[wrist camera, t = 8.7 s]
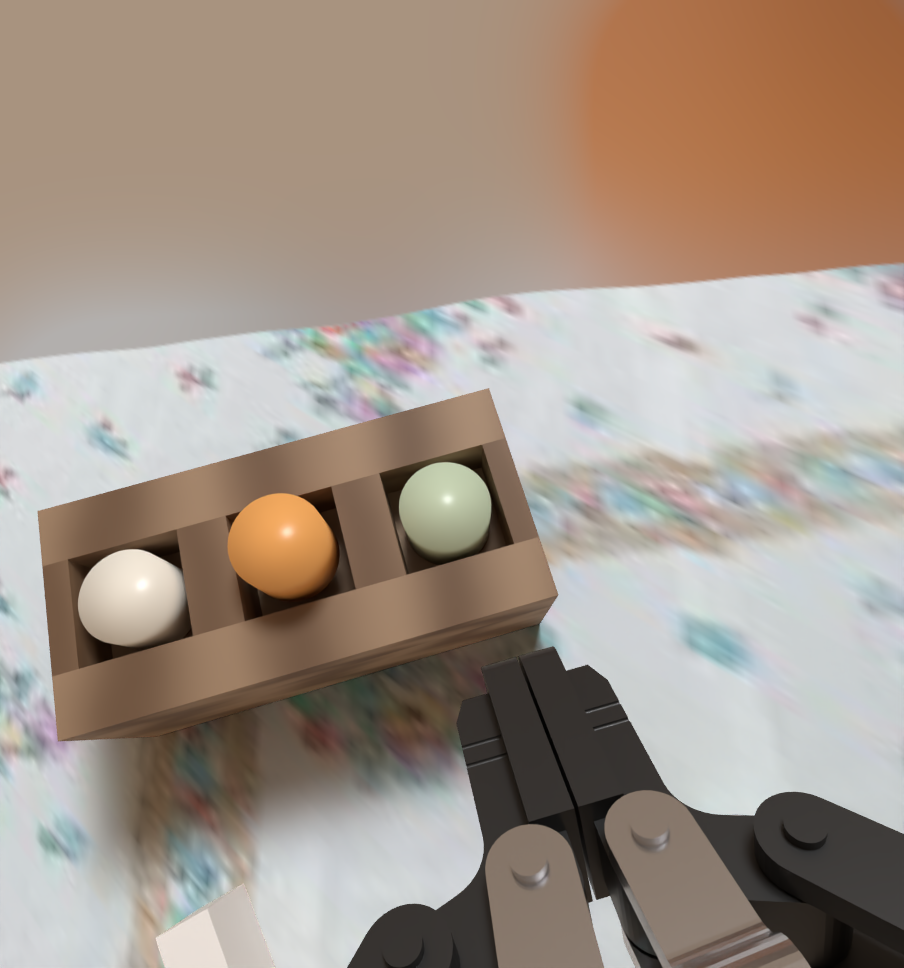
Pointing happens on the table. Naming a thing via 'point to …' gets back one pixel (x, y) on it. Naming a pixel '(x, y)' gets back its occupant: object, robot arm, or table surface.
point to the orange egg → (283, 547)
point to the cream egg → (135, 601)
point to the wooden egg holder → (279, 624)
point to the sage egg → (445, 512)
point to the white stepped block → (217, 936)
